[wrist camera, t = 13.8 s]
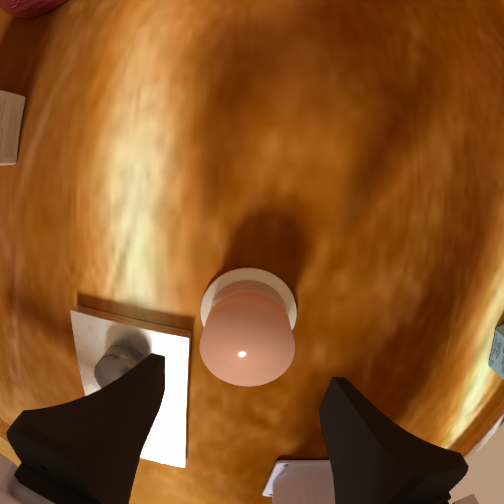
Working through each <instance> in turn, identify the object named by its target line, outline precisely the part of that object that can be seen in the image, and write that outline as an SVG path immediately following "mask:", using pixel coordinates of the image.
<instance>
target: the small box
mask: <svg viewBox="0 0 504 504" xmlns="http://www.w3.org/2000/svg"><path fill="white" fill-rule="evenodd" d="M25 98H26V97H25V96H22V95H18V94H14V93H10V92H6V91H2V90H0V166H2V165H14V164H16V163H17V152H18V142H19V134H20V127H21V121H22V115H23V109H24V104H25Z"/></svg>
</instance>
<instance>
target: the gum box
mask: <svg viewBox="0 0 504 504" xmlns="http://www.w3.org/2000/svg"><path fill="white" fill-rule="evenodd" d="M489 366H490V367H491V368H492V369H493V370H494V371H495V372H496V373H497V374H498V375H499V376H500V377H501V378H502V379H503V380H504V324H502V325H501V326H499V327H497V328H496V329H495V336H494V341H493V346H492V351H491V356H490V360H489Z"/></svg>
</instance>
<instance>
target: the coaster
mask: <svg viewBox="0 0 504 504" xmlns="http://www.w3.org/2000/svg"><path fill="white" fill-rule="evenodd" d="M240 280H256V281H260V282H263V283H266V284H268V285H270V286H271V287H273V288H274V289H275V290H276V291H277V292H278V293H279V294H280V295H281V296H282V298H283V300H284V302H285V304H286V308H287V313H288V317H289V321H290V325H291V329H293V327H294V325H295V322H296V313H297V310H296V304H295V300H294V297H293V295H292V292H291V291H290V289H289V287H288V286H287V285H286V284H285V282H284V281H282V280H281V279H280V278H279V277H277V276H276V275H274V274H272V273H270V272H268V271H266V270H263V269H258V268H239V269H234V270H231V271H229V272H226V273H224V274H223V275H221V276H219V277H218V278H217V279H216V280H214V281H213V283H212V284H211V285H210V286H209V288H208V289H207V291H206V293H205V295H204V297H203V300H202V304H201V319H202V323H203V326H205V323H206V320H207V317H208V314H209V311H210V307H211V304H212V302H213V300H214V298H215V296H216V295H217V294H218V292H219V291H220V290H221V289H223V288H224V287H225V286H227V285H229V284H231V283H233V282H236V281H240Z"/></svg>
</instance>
